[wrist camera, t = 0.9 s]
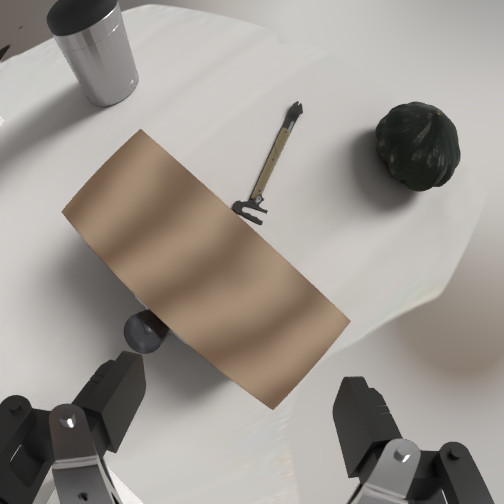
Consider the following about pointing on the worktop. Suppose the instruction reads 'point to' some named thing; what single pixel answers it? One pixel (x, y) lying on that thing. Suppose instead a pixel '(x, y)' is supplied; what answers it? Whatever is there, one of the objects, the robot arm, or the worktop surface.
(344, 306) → the worktop surface
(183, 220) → the cabinet
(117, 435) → the robot arm
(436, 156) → the squash
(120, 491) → the milk
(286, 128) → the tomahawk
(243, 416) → the worktop surface
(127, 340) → the joystick
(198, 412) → the worktop surface
